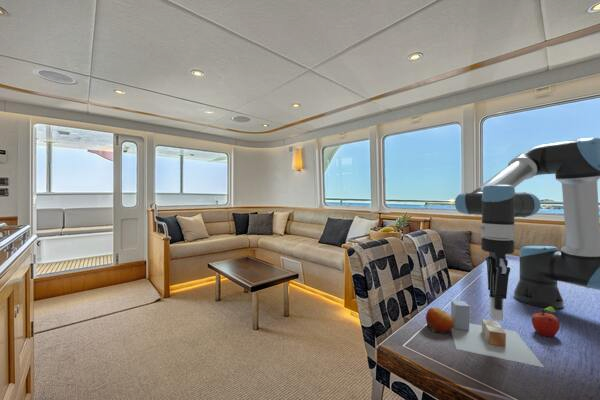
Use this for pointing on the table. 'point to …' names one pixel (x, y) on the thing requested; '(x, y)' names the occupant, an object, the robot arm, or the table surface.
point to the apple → (545, 323)
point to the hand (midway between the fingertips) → (496, 318)
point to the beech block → (493, 333)
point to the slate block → (460, 314)
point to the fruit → (439, 320)
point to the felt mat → (478, 344)
